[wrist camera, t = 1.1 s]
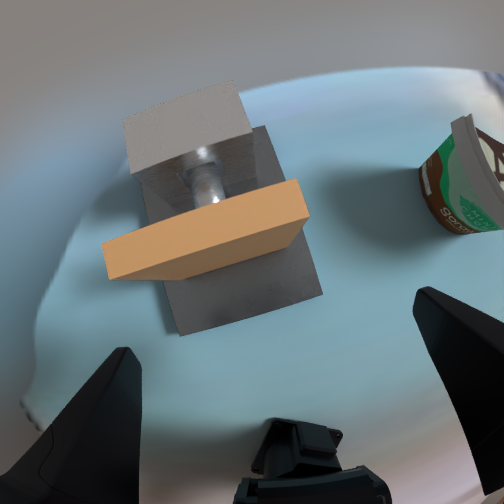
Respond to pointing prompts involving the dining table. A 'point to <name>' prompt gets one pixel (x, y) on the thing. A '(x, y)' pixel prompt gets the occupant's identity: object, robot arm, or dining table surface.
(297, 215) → the tan trapezoid block
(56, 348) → the dining table surface
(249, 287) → the bearing base
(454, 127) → the food container
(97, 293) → the dining table surface
